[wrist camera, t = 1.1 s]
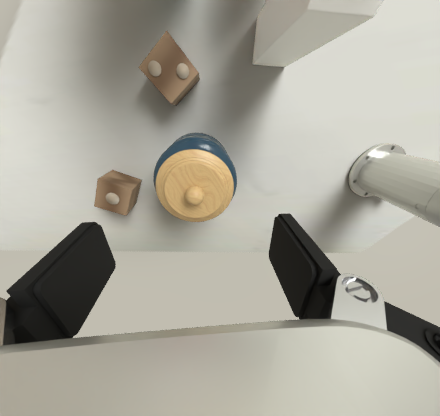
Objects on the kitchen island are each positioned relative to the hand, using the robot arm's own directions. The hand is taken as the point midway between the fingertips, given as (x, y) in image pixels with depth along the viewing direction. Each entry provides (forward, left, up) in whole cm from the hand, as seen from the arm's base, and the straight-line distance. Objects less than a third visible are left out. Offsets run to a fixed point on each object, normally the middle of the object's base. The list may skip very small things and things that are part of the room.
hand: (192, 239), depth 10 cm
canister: (-2, +3, -31) cm, 31 cm away
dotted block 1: (+8, +17, -31) cm, 36 cm away
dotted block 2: (+10, -7, -31) cm, 33 cm away
